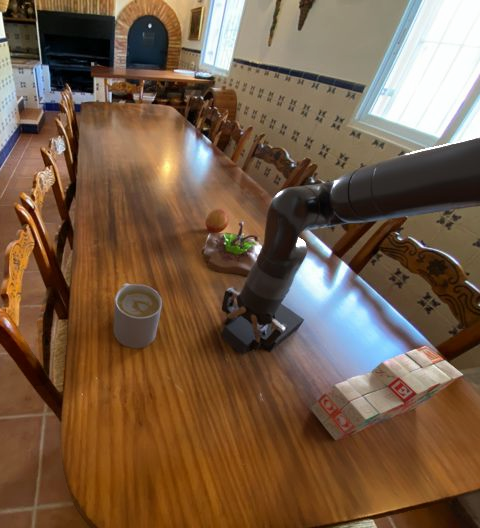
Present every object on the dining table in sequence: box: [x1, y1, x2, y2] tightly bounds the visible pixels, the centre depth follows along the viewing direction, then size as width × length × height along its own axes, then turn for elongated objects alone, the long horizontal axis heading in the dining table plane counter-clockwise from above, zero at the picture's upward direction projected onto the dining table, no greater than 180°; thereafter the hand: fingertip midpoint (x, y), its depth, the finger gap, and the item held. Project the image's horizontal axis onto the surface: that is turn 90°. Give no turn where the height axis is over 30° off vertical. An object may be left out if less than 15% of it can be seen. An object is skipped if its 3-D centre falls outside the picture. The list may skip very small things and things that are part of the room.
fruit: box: [205, 208, 230, 233], centre depth 102 cm, size 8×8×8 cm
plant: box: [200, 221, 263, 277], centre depth 90 cm, size 20×20×11 cm
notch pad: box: [232, 303, 305, 353], centre depth 72 cm, size 12×12×4 cm
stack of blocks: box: [310, 345, 464, 442], centre depth 54 cm, size 21×6×12 cm, turn 109°
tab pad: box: [220, 316, 255, 356], centre depth 67 cm, size 6×8×4 cm
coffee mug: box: [112, 283, 163, 349], centre depth 67 cm, size 13×10×10 cm
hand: (240, 337), depth 68 cm, fingers closed on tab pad, 6 cm apart
